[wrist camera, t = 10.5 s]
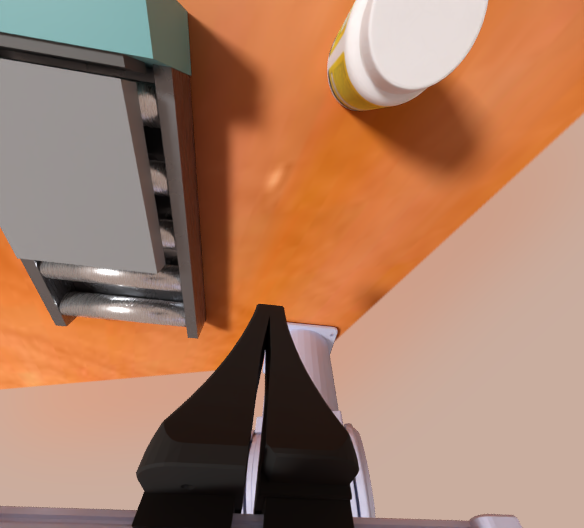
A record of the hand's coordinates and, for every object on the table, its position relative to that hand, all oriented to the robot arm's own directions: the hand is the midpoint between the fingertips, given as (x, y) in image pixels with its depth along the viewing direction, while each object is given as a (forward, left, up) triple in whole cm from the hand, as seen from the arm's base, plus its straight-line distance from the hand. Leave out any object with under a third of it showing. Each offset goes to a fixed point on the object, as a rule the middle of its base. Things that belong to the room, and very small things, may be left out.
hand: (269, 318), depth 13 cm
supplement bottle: (+13, -4, -11) cm, 17 cm away
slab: (+4, +14, -7) cm, 16 cm away
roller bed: (0, +14, -10) cm, 17 cm away
